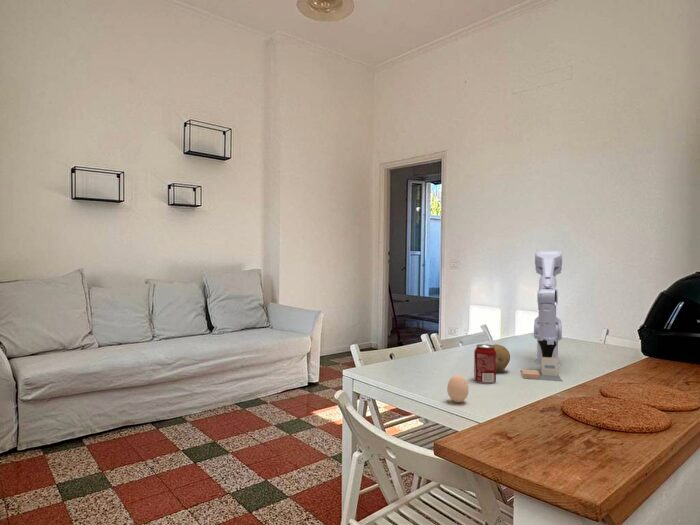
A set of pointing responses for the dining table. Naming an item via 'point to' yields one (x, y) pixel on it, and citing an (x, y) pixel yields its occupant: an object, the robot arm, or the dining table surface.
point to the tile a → (530, 374)
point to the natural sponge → (501, 357)
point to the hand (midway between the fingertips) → (546, 361)
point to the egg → (457, 388)
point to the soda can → (485, 364)
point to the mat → (546, 377)
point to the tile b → (549, 366)
